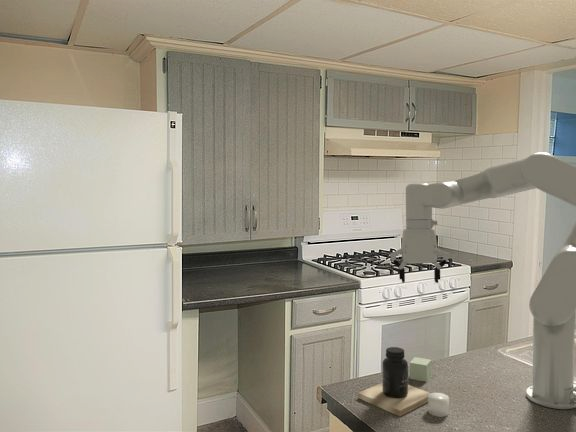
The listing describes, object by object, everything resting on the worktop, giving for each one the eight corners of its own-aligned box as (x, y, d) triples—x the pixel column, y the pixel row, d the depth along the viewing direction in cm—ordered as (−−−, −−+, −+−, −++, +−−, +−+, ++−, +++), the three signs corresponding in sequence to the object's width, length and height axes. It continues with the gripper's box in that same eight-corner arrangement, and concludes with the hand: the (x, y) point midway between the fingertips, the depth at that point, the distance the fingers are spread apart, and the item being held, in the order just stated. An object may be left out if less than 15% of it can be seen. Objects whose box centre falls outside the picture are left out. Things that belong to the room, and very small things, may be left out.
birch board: (432, 399, 131) (432, 393, 131) (400, 416, 122) (400, 410, 122) (391, 383, 142) (391, 378, 141) (358, 398, 133) (358, 392, 133)
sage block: (431, 376, 146) (431, 359, 146) (426, 382, 142) (426, 365, 142) (414, 373, 149) (414, 357, 149) (409, 379, 145) (409, 362, 144)
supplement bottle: (409, 399, 128) (408, 354, 127) (382, 398, 129) (381, 353, 128) (407, 388, 134) (407, 345, 133) (382, 387, 136) (381, 345, 135)
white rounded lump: (452, 412, 123) (452, 397, 123) (441, 419, 120) (441, 403, 120) (435, 405, 127) (435, 390, 127) (424, 412, 124) (424, 396, 124)
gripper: (447, 223, 147) (447, 279, 149) (388, 224, 150) (389, 279, 151) (451, 225, 140) (451, 284, 141) (389, 226, 143) (390, 284, 144)
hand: (419, 281), depth 146 cm, fingers open, 9 cm apart
